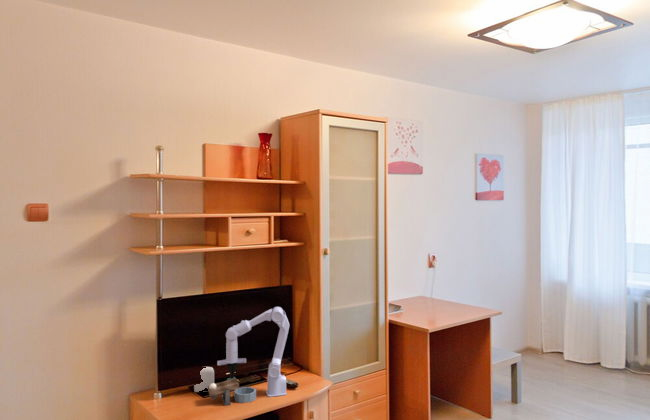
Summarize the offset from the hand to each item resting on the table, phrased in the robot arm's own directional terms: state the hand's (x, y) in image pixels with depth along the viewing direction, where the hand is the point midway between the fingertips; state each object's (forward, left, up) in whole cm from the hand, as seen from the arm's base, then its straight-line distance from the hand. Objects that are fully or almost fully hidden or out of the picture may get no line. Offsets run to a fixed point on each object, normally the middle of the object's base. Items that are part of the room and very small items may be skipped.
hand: (231, 377), depth 260 cm
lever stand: (+4, +8, -9) cm, 12 cm away
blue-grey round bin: (-6, +8, -9) cm, 13 cm away
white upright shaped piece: (+13, -10, -9) cm, 19 cm away
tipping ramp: (+5, +4, -5) cm, 8 cm away
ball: (+10, +8, -1) cm, 13 cm away
